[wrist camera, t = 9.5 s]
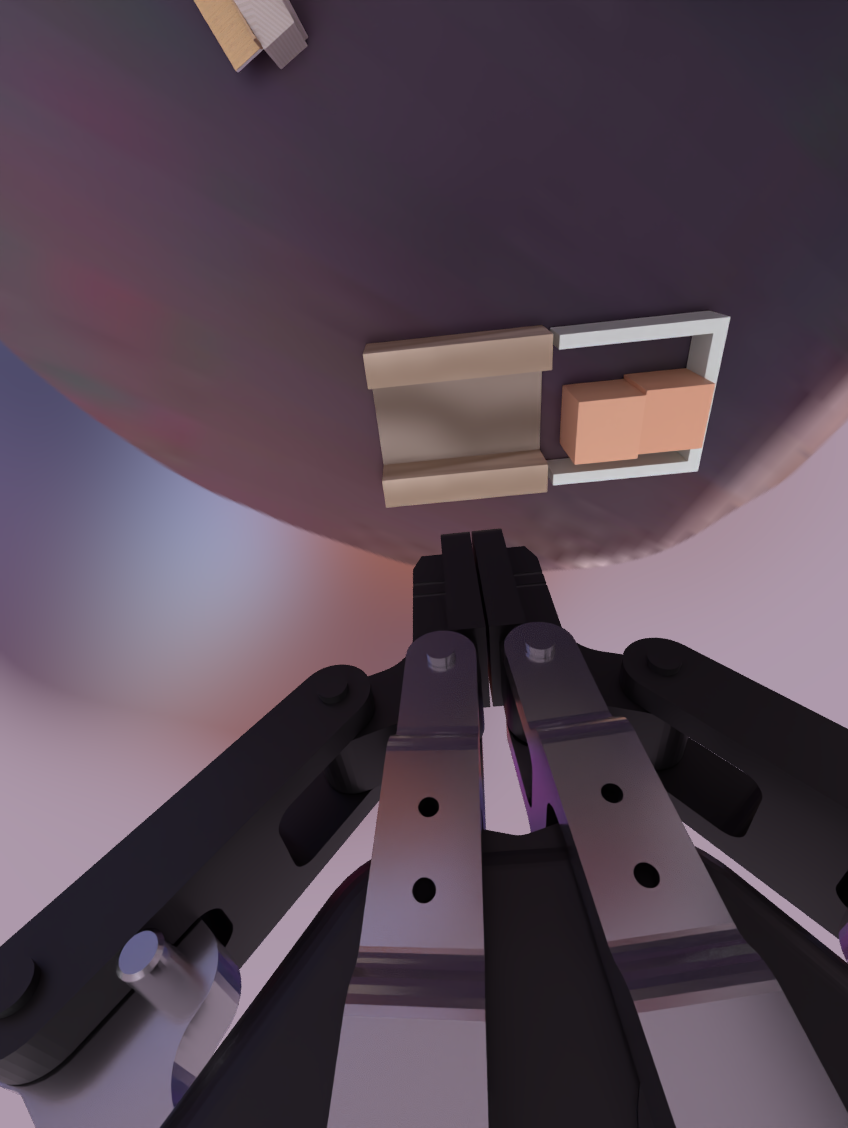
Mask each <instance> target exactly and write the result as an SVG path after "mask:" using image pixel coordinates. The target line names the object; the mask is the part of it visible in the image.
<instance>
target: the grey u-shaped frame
mask: <svg viewBox="0 0 848 1128" xmlns="http://www.w3.org/2000/svg"><path fill="white" fill-rule="evenodd" d="M729 322H730V317H729V316H726V315H723V314H719V313H716V312H713V311H710V310H709V311H700V312H691V313H682V314H672V315H663V316H654V317H644V318H635V319H626V320H616V321H607V322H598V323H588V324H579V325H570V326H560V327H551V328H550V332H552V333H553V345H554V346H556V347H557V348H558V349H559V350H560V349H569V348H579V347H588V346H598V345H607V344H617V343H626V342H636V341H645V340H654V339H664V338H673V337H683V336H692V339H691V345H690V350H689V356H688V362H687V367H686V368H687V369H689V370H691V371H692V372H694V373H696V374H698V375H700V376H702V377H704V378H706V379H707V380H709V381H711V382H713V383H715V388H716V383H717V378H718V373H719V369H720V364H721V359H722V355H723V350H724V345H725V340H726V336H727V331H728V326H729ZM715 388H714V392H715ZM714 392H713V397H714ZM713 397H712V402H713ZM712 402H711V406H712ZM710 411H711V407H710ZM710 411H709V416H710ZM709 416H708V420H709ZM707 425H708V421H707ZM706 430H707V426H706ZM706 430H705V435H706ZM705 435H704V439H705ZM703 444H704V440H703ZM702 449H703V445H702V448H698V449H688V450H678V451H668V452H658V453H648V454H638V458H637V459H628V460H618V461H608V462H598V463H588V464H578V465H574V463H573V462H572V460H571V459H570V458H564V459H554V460H546V462H547V463H548V477H549V479H550V481H551V483H552V485H562V484H572V483H583V482H593V481H603V480H613V479H624V478H634V477H644V476H654V475H664V474H675V473H685V472H695V471H698V468H699V463H700V458H701V453H702Z"/></svg>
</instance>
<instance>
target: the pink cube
mask: <svg viewBox="0 0 848 1128" xmlns="http://www.w3.org/2000/svg"><path fill="white" fill-rule="evenodd" d="M645 401H646V395H645V394H644V393H642V392H641V391H640V390H638V389H637V388H635V387H634V386H633V385H631V384H630V383H629V382H627V381H626V380H624V379H617V380H607V381H598V382H588V383H578V384H569V385H563V387H562V407H561V426H560V444H561V446H562V447H563V449H564V450H565V452H566V453H567V455H568V456H569V457H570V459H571V460H572V462H573V463H574V465H578V464H588V463H598V462H608V461H618V460H628V459H637V458H638V451H639V444H640V437H641V430H642V423H643V416H644V408H645Z"/></svg>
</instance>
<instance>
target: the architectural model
mask: <svg viewBox="0 0 848 1128" xmlns="http://www.w3.org/2000/svg"><path fill="white" fill-rule="evenodd" d="M194 2H195V3H196V5H197V7H198V8H199V10H200V12H201V13H202V15H203V17H204V18H205V20H206V22H207V23H208V25H209V27H210V28H211V30H212V32H213V33H214V35H215V37H216V39H217V40H218V42H219V44H220V45H221V47H222V49H223V50H224V52H225V54H226V55H227V57H228V59H229V60H230V62H231V64H232V65H233V67H234V69H235V70H236V71H237V72H239V71H241V70H242V69H243V68H244V67H245V66H246V65H247V64H248V63H249V62H250V61H251V60H252V59H254V58H255V57H256V56H257V55H258V54H259V53H260V52H261V51H262V50H263V49H264V50H265V51H266V53H267V54H268V55H269V56H270V57H271V59H272V60H273V61H274V62H275V63H276V65H277V66H278V67H279V68H280V69H282V68H284V67H285V66H286V65H287V64H288V63H289V62H290V61H291V60H293V59H294V58H295V57H296V56H297V55H298V54H299V53H300V52H301V51H303V50H304V49H305V48H306V47H307V46H308V45H307V43H306V42H305V40H306V39H307V38H308V35H307V33H306V31H305V30H304V28H303V26H302V24H301V22H300V20H299V18H298V16H297V14H296V12H295V10H294V9H293V7H292V5H291V3H290V1H289V0H194ZM292 18H293V19H292Z"/></svg>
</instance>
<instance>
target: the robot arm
mask: <svg viewBox="0 0 848 1128" xmlns="http://www.w3.org/2000/svg"><path fill="white" fill-rule="evenodd" d="M441 545H442V555H432V556H422V557H421V558H420V560H419V561H418V563H417V564H416V566H415V567H414V569H413V643H412V644H411V645H410V647H409V649H408V650H407V654H406V657H405V658H404V659H403V660H402V661H401V662H399V663H398V664H397V665H395V666H393V667H391V668H390V669H387V670H385V671H382V672H379V673H376V674H374V675H371V676H367V675H366V674H365V673H364V672H363V671H362V670H361V669H359V668H357V667H354V666H350V665H334V666H330V667H326V668H323V669H321V670H319V671H317V672H316V673H314V674H313V675H311V676H310V677H309V678H308V679H306V680H305V681H304V682H303V683H302V684H301V685H300V686H298V687H297V688H296V689H295V690H294V691H293V692H292V693H290V694H289V695H288V696H287V697H286V698H285V699H284V700H282V701H281V702H280V703H279V704H278V705H277V706H276V707H275V708H273V709H272V710H271V711H270V712H269V713H267V714H266V715H265V716H264V717H263V718H262V719H261V720H259V721H258V722H257V723H256V724H255V725H254V726H253V727H251V728H250V729H249V730H248V731H247V732H246V733H245V734H243V735H242V736H241V737H240V738H239V739H238V740H236V741H235V742H234V743H233V744H232V745H231V746H230V747H228V748H227V749H226V750H225V751H224V752H223V753H222V754H221V755H219V756H218V757H217V758H216V759H215V760H214V761H212V762H211V763H210V764H209V765H208V766H207V767H206V768H204V769H203V770H202V771H201V772H200V773H199V774H198V775H197V776H195V777H194V778H193V779H192V780H191V781H189V782H188V783H187V784H186V785H185V786H184V787H183V788H181V789H180V790H179V791H178V792H177V793H176V794H175V795H173V796H172V797H171V798H170V799H169V800H168V801H167V802H165V803H164V804H163V805H162V806H161V807H160V808H159V809H157V810H156V811H155V812H154V813H153V814H152V815H151V816H149V817H148V818H147V819H146V820H145V821H144V822H143V823H142V824H140V825H139V826H138V827H137V828H136V829H134V830H133V831H132V832H131V833H130V834H129V835H128V836H127V837H125V838H124V839H123V840H122V841H121V842H120V843H118V844H117V845H116V846H115V847H114V848H113V849H112V850H110V851H109V852H108V853H107V854H106V855H105V856H104V857H102V858H101V859H100V860H99V861H98V862H97V863H96V864H94V865H93V866H92V867H91V868H90V869H89V870H88V871H86V872H85V873H84V874H83V875H82V876H81V877H80V878H79V879H77V880H76V881H75V882H74V883H73V884H72V885H70V886H69V887H68V888H67V889H66V890H65V891H63V892H62V893H61V894H60V895H59V896H58V897H57V898H55V899H54V901H52V902H51V903H50V904H49V905H47V906H46V907H45V908H44V909H43V910H42V911H41V912H39V913H38V914H37V915H36V916H35V917H34V918H33V919H31V921H29V922H28V923H27V924H26V925H25V926H23V927H22V928H21V929H20V930H19V931H18V932H17V933H15V934H14V935H13V936H12V937H11V938H10V939H8V940H7V941H6V942H5V943H4V944H3V945H2V946H1V947H0V1086H1V1087H3V1088H4V1089H7V1090H9V1091H12V1092H14V1093H16V1094H19V1095H21V1096H22V1098H23V1100H24V1103H25V1105H26V1107H27V1109H28V1112H29V1114H30V1116H31V1118H32V1121H33V1123H34V1125H35V1128H848V729H847V728H845V727H843V726H841V725H839V724H837V723H835V722H833V721H831V720H829V719H827V718H825V717H823V716H821V715H819V714H817V713H815V712H814V711H812V710H810V709H808V708H806V707H804V706H802V705H800V704H798V703H796V702H794V701H792V700H790V699H788V698H786V697H784V696H782V695H780V694H778V693H776V692H775V691H772V690H770V689H768V688H767V687H764V686H762V685H761V684H759V683H757V682H755V681H753V680H751V679H749V678H747V677H745V676H743V675H741V674H739V673H737V672H735V671H733V670H732V669H730V668H728V667H726V666H724V665H722V664H720V663H718V662H716V661H714V660H712V659H710V658H708V657H706V656H704V655H702V654H700V653H698V652H696V651H694V650H692V649H690V648H688V647H687V646H685V645H682V644H680V643H678V642H675V641H672V640H668V639H663V638H645V639H641V640H638V641H635V642H634V643H632V644H630V645H629V646H628V647H627V648H626V649H625V651H624V653H623V655H622V654H615V653H609V652H602V651H597V650H593V649H589V648H586V647H584V646H582V645H580V644H578V643H576V641H575V640H574V638H573V636H572V635H571V634H570V633H569V632H568V631H566V630H565V629H563V628H562V627H561V624H560V621H559V619H558V615H557V613H556V610H555V607H554V604H553V601H552V598H551V595H550V592H549V590H548V587H547V585H546V581H545V578H544V575H543V574H542V570H541V567H540V564H539V561H538V558H537V557H536V556H535V555H534V554H533V553H532V552H531V551H529V550H528V549H527V548H526V547H525V546H521V547H511V548H506V544H505V541H504V537H503V533H502V530H501V529H491V530H481V531H472V543H471V537H470V532H462V533H453V534H443V535H441ZM488 677H489V678H488ZM489 683H490V690H491V696H492V702H493V706H504V710H505V715H506V728H507V740H508V743H509V747H510V751H511V755H512V759H513V762H514V766H515V770H516V773H517V777H518V781H519V785H520V789H521V792H522V796H523V800H524V804H525V807H526V811H527V815H528V820H529V824H530V831H531V833H529V834H525V835H511V834H505V833H500V832H494V831H489V830H486V819H485V795H484V768H483V744H482V743H483V742H482V735H483V732H484V711H483V708H484V707H490V697H489ZM689 737H690V738H689ZM692 739H693V740H692ZM695 741H696V742H695ZM700 744H701V745H700ZM703 746H704V747H703ZM706 748H707V749H706ZM708 749H709V750H708ZM711 751H712V752H711ZM714 753H715V754H714ZM717 755H718V756H717ZM719 756H720V757H719ZM722 758H723V759H722ZM725 760H726V761H725ZM727 761H728V762H727ZM730 763H731V764H730ZM733 765H734V766H733ZM736 767H737V768H736ZM738 768H739V769H740V770H739V769H738ZM741 770H742V771H741ZM744 772H745V773H744ZM378 801H379V808H378V815H377V822H376V830H375V837H374V844H373V852H372V859H371V860H369V861H368V862H366V863H365V864H363V865H362V866H360V867H359V868H358V869H357V870H356V871H354V872H353V873H352V874H351V875H350V876H348V877H347V878H346V879H345V880H344V881H343V883H342V884H341V885H340V886H339V887H338V888H337V889H336V890H335V891H334V893H333V894H332V895H331V896H330V898H329V899H328V900H327V901H326V903H325V904H324V906H323V907H322V908H321V910H320V911H319V912H318V914H317V915H316V916H315V918H314V919H313V920H312V922H311V923H310V925H309V926H308V927H307V929H306V930H305V931H304V933H303V934H302V936H301V937H300V938H299V940H298V941H297V942H296V943H295V945H294V946H293V948H292V949H291V950H290V952H289V953H288V954H287V956H286V957H285V959H284V960H283V961H282V963H281V964H280V965H279V967H278V968H277V969H276V971H275V972H274V973H273V975H272V976H271V977H270V979H269V980H268V981H267V983H266V984H265V986H264V987H263V988H262V990H261V991H260V992H259V994H258V995H257V996H256V998H255V999H254V1001H253V1002H252V1003H251V1004H250V1006H249V1007H248V1009H247V1010H246V1011H245V1013H244V1014H243V1015H242V1017H241V1018H240V1019H239V1021H238V1022H237V1024H236V1025H235V1026H234V1028H233V1029H232V1030H231V1032H230V1033H229V1034H228V1036H227V1037H226V1038H225V1040H224V1041H223V1042H222V1044H221V1045H220V1046H219V1048H218V1049H217V1051H216V1052H215V1053H214V1051H215V1049H216V1047H217V1046H218V1044H219V1042H220V1041H221V1039H222V1038H223V1036H224V1034H225V1033H226V1031H227V1030H228V1028H229V1026H230V1024H231V1022H232V1020H233V1018H234V1016H235V1013H236V1011H237V1008H238V1005H239V1000H240V994H241V975H240V970H239V969H240V968H241V967H242V965H243V964H244V963H245V962H246V961H247V959H248V958H249V957H250V956H251V955H252V953H253V952H254V951H255V950H256V949H257V947H258V946H259V945H260V944H261V942H262V941H263V940H264V939H265V938H266V937H267V935H268V934H269V933H270V932H271V930H272V929H273V928H274V927H275V926H276V924H277V923H278V922H279V921H280V920H281V918H282V917H283V916H284V915H285V914H286V912H287V911H288V910H289V909H290V908H291V906H292V905H293V904H294V903H295V901H296V900H297V899H298V898H299V897H300V895H301V894H302V893H303V892H304V890H305V889H306V888H307V887H308V886H309V885H310V883H311V882H312V881H313V880H314V878H315V877H316V876H317V875H318V874H319V872H320V871H321V870H322V869H323V868H324V866H325V865H326V864H327V863H328V862H329V860H330V859H331V858H332V857H333V855H334V854H335V853H336V852H337V851H338V850H339V848H340V847H341V846H342V845H343V843H344V842H345V841H346V840H347V839H348V837H349V836H350V835H351V834H352V833H353V831H354V830H355V829H356V828H357V827H358V825H359V824H360V823H361V822H362V820H363V819H364V818H365V817H366V816H367V814H368V813H369V812H370V811H371V810H372V808H373V807H374V806H375V805H376V804H377V802H378ZM682 822H684V823H685V824H686V825H688V826H689V827H691V828H692V829H693V830H694V831H696V832H697V833H698V834H700V835H701V836H702V837H704V838H705V839H706V840H708V841H709V842H710V843H712V844H713V845H714V846H716V847H717V848H718V849H720V850H721V851H722V852H724V853H725V854H726V855H728V856H729V857H730V858H732V859H733V860H734V861H736V862H737V863H738V864H740V865H741V866H743V867H744V868H745V869H746V870H748V871H749V872H750V873H752V874H753V875H754V876H756V877H757V878H758V879H760V880H761V881H762V882H764V883H765V884H766V885H768V886H769V887H770V888H772V889H773V890H774V891H776V892H777V893H778V894H779V895H781V896H782V897H783V898H785V899H787V900H788V901H789V902H790V903H791V904H793V905H794V906H795V907H797V908H798V909H799V910H801V911H802V912H804V913H805V914H806V915H807V916H809V917H810V918H811V919H813V920H814V921H815V922H817V923H818V924H819V925H821V926H822V927H823V928H825V929H826V930H827V931H829V932H830V933H831V934H833V935H834V936H835V937H837V938H838V939H839V941H840V945H841V949H842V952H843V954H844V956H845V959H846V961H847V963H846V962H845V961H844V960H843V959H841V958H840V957H839V956H837V955H836V954H835V953H834V952H833V951H831V950H830V949H829V948H828V947H826V946H825V945H824V944H823V943H822V942H820V941H819V940H818V939H817V938H815V937H814V936H813V935H811V934H810V933H809V932H808V931H807V930H805V929H804V928H803V927H802V926H800V925H799V924H798V923H797V922H795V921H794V920H793V919H792V918H790V917H789V916H788V915H787V914H786V913H784V912H783V911H782V910H781V909H779V908H778V907H777V906H776V905H774V904H773V903H772V902H771V901H769V900H768V899H767V898H766V897H765V896H763V895H762V894H761V893H760V892H758V891H757V890H756V889H755V888H753V887H752V886H751V885H749V884H748V883H747V882H746V881H745V880H743V879H742V878H741V877H740V876H738V875H737V874H736V873H735V872H734V871H732V870H731V869H730V868H728V867H727V866H726V865H724V864H723V863H722V862H720V861H719V860H717V859H715V858H714V857H713V856H711V855H709V854H708V853H707V852H705V851H703V850H701V849H699V848H697V847H695V846H694V845H693V842H692V841H691V839H690V837H689V835H688V833H687V831H686V829H685V827H684V825H683V823H682ZM213 1054H214V1055H213Z"/></svg>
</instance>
